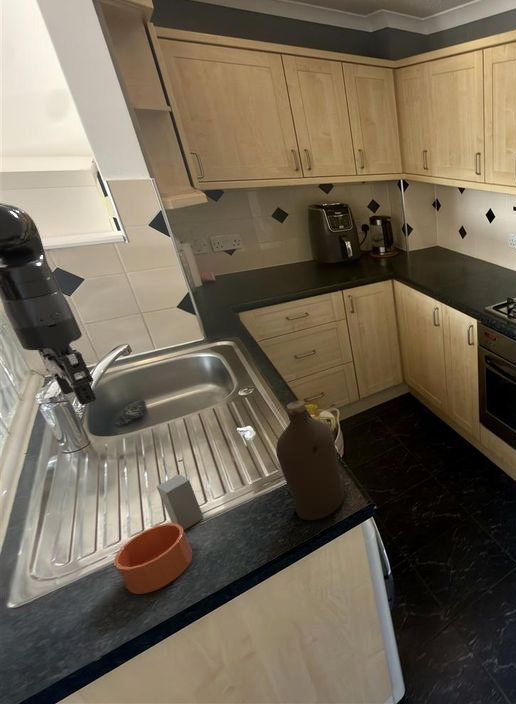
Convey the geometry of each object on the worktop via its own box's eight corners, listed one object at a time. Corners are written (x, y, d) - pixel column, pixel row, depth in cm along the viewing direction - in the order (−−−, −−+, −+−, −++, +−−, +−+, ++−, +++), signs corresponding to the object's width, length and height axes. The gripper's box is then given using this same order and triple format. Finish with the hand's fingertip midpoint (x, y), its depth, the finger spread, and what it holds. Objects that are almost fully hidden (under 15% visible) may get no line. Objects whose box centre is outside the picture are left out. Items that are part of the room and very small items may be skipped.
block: (182, 531, 82) (165, 493, 78) (172, 524, 84) (156, 486, 80) (203, 517, 85) (189, 479, 82) (194, 510, 87) (179, 473, 84)
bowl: (141, 603, 68) (128, 578, 66) (117, 579, 73) (104, 555, 70) (202, 558, 76) (192, 535, 74) (177, 539, 80) (167, 516, 78)
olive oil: (356, 488, 92) (335, 392, 83) (327, 526, 82) (300, 422, 73) (315, 482, 94) (290, 388, 85) (282, 519, 84) (250, 417, 75)
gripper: (-1, 319, 73) (39, 398, 78) (25, 332, 66) (66, 416, 72) (57, 307, 79) (90, 380, 85) (86, 317, 72) (120, 396, 78)
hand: (79, 397), depth 78 cm, fingers open, 8 cm apart
